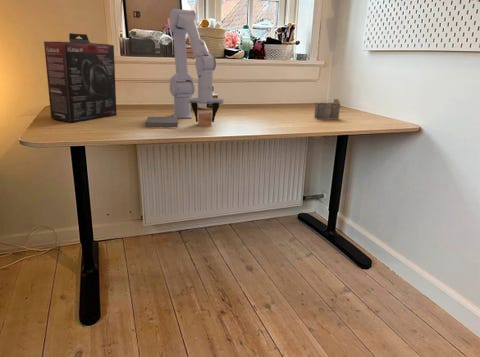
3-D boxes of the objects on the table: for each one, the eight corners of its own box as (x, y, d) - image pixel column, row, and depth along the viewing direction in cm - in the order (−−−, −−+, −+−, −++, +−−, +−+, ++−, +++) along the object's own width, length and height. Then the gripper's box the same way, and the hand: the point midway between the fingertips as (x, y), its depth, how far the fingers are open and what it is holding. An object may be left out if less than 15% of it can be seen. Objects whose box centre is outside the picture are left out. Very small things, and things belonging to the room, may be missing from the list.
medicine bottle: (206, 109, 194) (207, 85, 190) (198, 107, 198) (198, 83, 194) (217, 108, 198) (218, 84, 194) (209, 106, 203) (209, 83, 199)
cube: (198, 124, 159) (198, 111, 157) (210, 124, 159) (210, 112, 158) (198, 126, 154) (199, 114, 152) (211, 126, 155) (211, 114, 153)
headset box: (98, 112, 175) (92, 34, 164) (119, 115, 169) (114, 35, 158) (50, 119, 154) (39, 31, 143) (72, 123, 149) (62, 32, 138)
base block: (148, 122, 159) (148, 116, 158) (177, 123, 161) (177, 117, 160) (145, 128, 148) (145, 122, 147) (177, 129, 150) (177, 122, 149)
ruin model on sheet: (335, 118, 187) (338, 98, 184) (338, 119, 184) (340, 99, 181) (313, 118, 184) (315, 98, 181) (316, 119, 182) (318, 99, 178)
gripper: (186, 88, 147) (186, 123, 151) (224, 89, 149) (223, 123, 153) (186, 86, 153) (186, 119, 158) (222, 87, 156) (221, 120, 160)
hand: (204, 121), depth 156 cm, fingers open, 6 cm apart
